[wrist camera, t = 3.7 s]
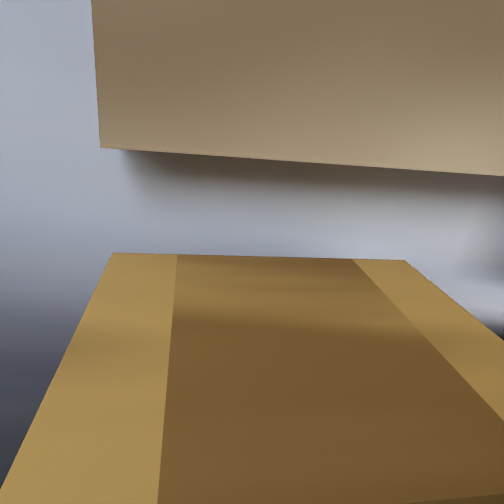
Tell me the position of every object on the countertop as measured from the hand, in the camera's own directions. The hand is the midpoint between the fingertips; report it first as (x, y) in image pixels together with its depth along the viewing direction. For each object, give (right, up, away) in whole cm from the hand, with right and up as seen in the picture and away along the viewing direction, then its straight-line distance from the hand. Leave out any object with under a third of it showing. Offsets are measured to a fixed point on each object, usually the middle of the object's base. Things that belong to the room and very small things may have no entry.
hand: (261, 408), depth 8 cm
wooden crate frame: (0, 0, +1) cm, 1 cm away
